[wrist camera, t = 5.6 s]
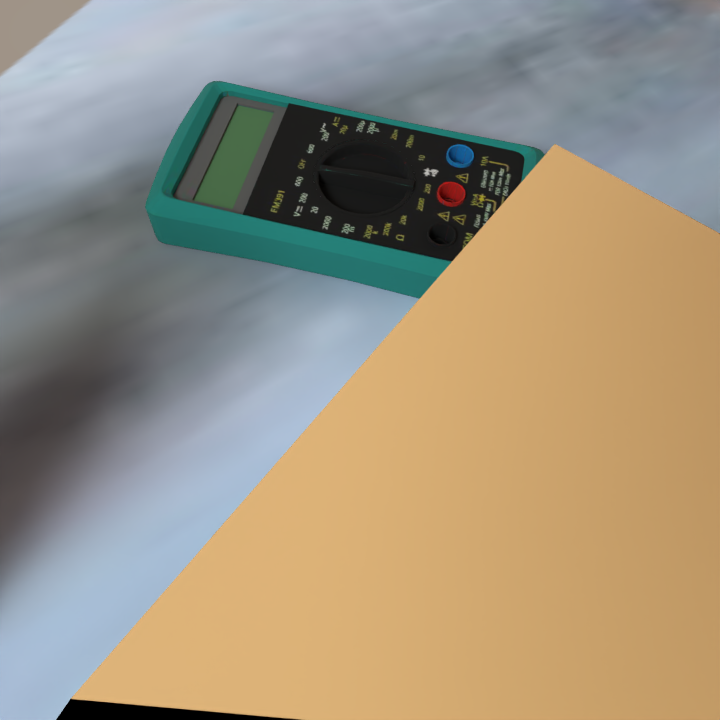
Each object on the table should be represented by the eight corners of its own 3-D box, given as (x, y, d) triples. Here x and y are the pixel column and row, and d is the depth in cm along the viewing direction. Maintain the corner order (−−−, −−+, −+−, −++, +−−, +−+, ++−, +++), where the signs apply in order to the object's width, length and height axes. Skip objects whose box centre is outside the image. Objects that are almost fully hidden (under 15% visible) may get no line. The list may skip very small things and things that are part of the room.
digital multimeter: (522, 334, 25) (544, 291, 23) (150, 249, 26) (131, 198, 24) (543, 191, 29) (564, 139, 26) (213, 120, 30) (202, 64, 27)
